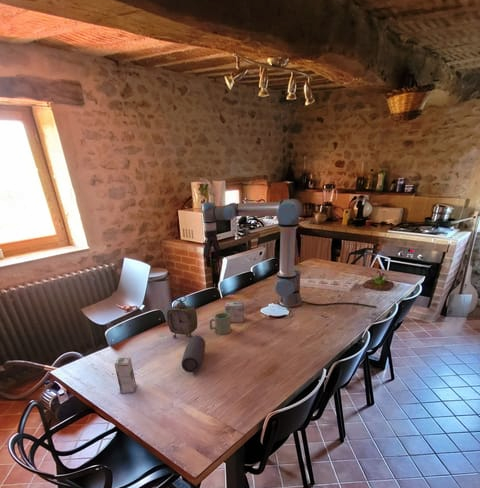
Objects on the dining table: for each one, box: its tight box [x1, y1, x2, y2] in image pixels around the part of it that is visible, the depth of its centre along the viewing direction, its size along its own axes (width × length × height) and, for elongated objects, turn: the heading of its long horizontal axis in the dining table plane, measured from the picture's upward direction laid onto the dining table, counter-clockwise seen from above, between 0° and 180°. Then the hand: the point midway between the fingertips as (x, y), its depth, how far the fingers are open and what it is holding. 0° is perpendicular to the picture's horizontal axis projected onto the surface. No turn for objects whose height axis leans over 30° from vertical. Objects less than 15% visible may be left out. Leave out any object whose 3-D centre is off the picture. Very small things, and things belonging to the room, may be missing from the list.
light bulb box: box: [224, 301, 245, 323], centre depth 217 cm, size 11×7×11 cm, turn 84°
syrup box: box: [114, 356, 137, 394], centre depth 154 cm, size 6×6×14 cm
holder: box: [300, 278, 358, 293], centre depth 272 cm, size 45×18×3 cm, turn 59°
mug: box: [208, 312, 232, 335], centre depth 204 cm, size 12×9×10 cm
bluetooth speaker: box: [181, 335, 206, 374], centre depth 173 cm, size 23×9×10 cm, turn 178°
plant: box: [363, 270, 395, 292], centre depth 260 cm, size 20×20×11 cm
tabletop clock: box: [166, 293, 198, 340], centre depth 196 cm, size 14×9×25 cm, turn 70°
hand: (213, 264), depth 232 cm, fingers open, 13 cm apart
